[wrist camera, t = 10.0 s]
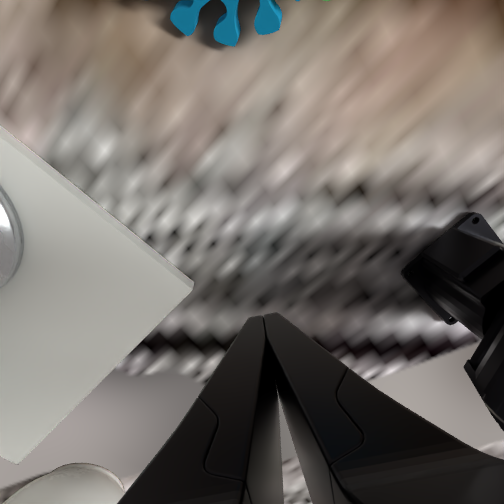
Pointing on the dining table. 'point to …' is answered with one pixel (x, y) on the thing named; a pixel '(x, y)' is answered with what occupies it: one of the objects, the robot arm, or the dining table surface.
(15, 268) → the flange plate
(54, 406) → the clock board
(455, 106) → the dining table surface
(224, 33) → the gear
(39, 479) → the lidded bowl
